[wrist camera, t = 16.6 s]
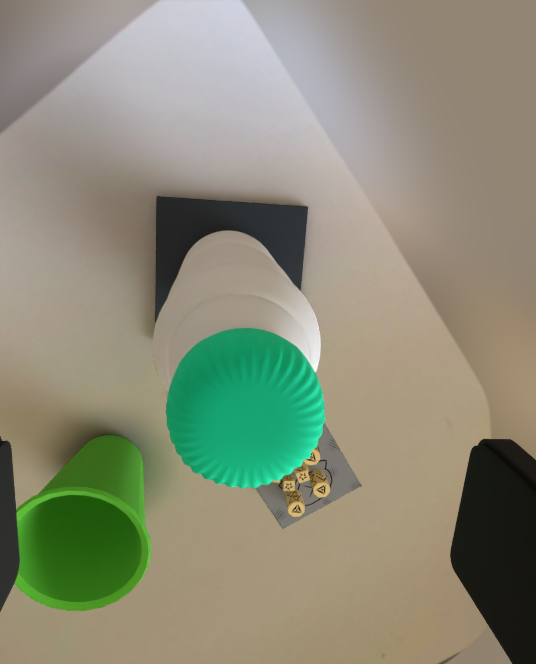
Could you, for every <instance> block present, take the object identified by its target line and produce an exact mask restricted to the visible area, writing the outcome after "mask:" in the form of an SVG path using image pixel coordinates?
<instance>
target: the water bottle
mask: <svg viewBox="0 0 536 664" xmlns="http://www.w3.org/2000/svg"><path fill="white" fill-rule="evenodd" d="M320 348H321V341H320V332H319V327H318V323H317V319H316V317H315V314H314V312H313V310H312V308H311V306H310V304H309V302H308V301H307V299H306V298H305V296H304V295H303V294H302V292H301V291H300V290H299V289H298V288H297V287H296V286H295V285H294V284H293V283H292V281H291V280H290V279H289V277H288V276H287V275H286V273H285V272H284V271H283V270H282V268H281V267H280V266H279V265H278V264H277V263H276V261H275V260H274V258H273V257H272V256H271V255H270V253H269V252H268V250H267V249H266V248H265V247H264V246H263V245H262V244H261V243H260V242H259V241H258V240H256V239H255V238H253V237H251V236H250V235H247V234H245V233H242V232H238V231H219V232H214V233H212V234H209V235H207V236H205V237H203V238H202V239H200V240H199V241H198V242H196V243H195V244H194V245H193V246H192V248H191V249H190V250H189V251H188V253H187V255H186V257H185V259H184V261H183V263H182V266H181V268H180V270H179V273H178V276H177V278H176V280H175V282H174V284H173V286H172V288H171V290H170V293H169V295H168V298H167V300H166V302H165V303H164V305H163V307H162V309H161V311H160V313H159V315H158V318H157V321H156V325H155V329H154V334H153V357H154V363H155V367H156V370H157V373H158V376H159V378H160V380H161V382H162V384H163V386H164V388H165V389H166V391H167V392H168V398H167V405H166V414H167V427H168V429H169V431H170V438H171V441H172V443H173V444H175V448H176V451H177V453H178V454H179V455H180V456H181V457H182V460H183V462H184V464H186V465H188V466H190V467H191V468H192V471H193V472H194V473H196V474H202V476H203V477H204V479H207V480H213V481H214V482H215V483H216V484H225V485H226V486H228V487H234V486H238V487H239V488H246V487H248V486H249V487H252V488H257V487H259V486H260V485H268V484H270V483H271V482H272V481H279V480H281V479H282V477H283V476H284V475H289V474H291V473H292V472H293V470H294V468H298V467H300V466H301V465H302V463H303V460H306V459H308V458H309V457H310V456H311V453H312V450H313V449H315V448H316V447H317V445H318V439H319V438H320V436H321V435H322V432H323V424H324V422H325V413H324V408H325V404H324V400H323V392H322V389H321V386H320V383H319V381H318V378H317V375H316V370H317V367H318V363H319V358H320Z"/></svg>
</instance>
